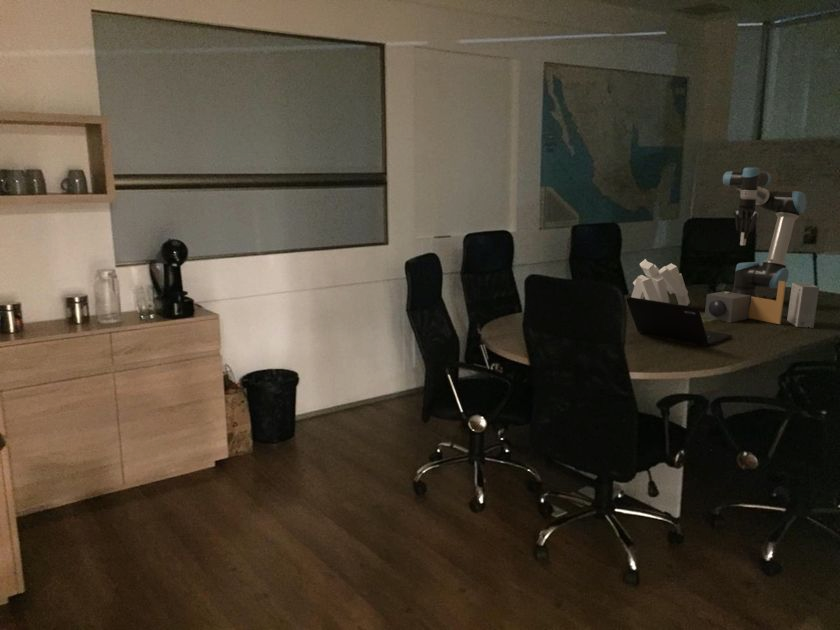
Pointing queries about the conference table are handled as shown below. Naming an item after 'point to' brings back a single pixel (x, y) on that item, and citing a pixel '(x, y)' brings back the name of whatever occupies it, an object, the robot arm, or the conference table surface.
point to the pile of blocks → (660, 284)
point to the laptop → (672, 321)
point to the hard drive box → (803, 304)
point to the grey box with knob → (727, 306)
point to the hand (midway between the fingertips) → (742, 245)
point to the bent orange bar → (768, 306)
